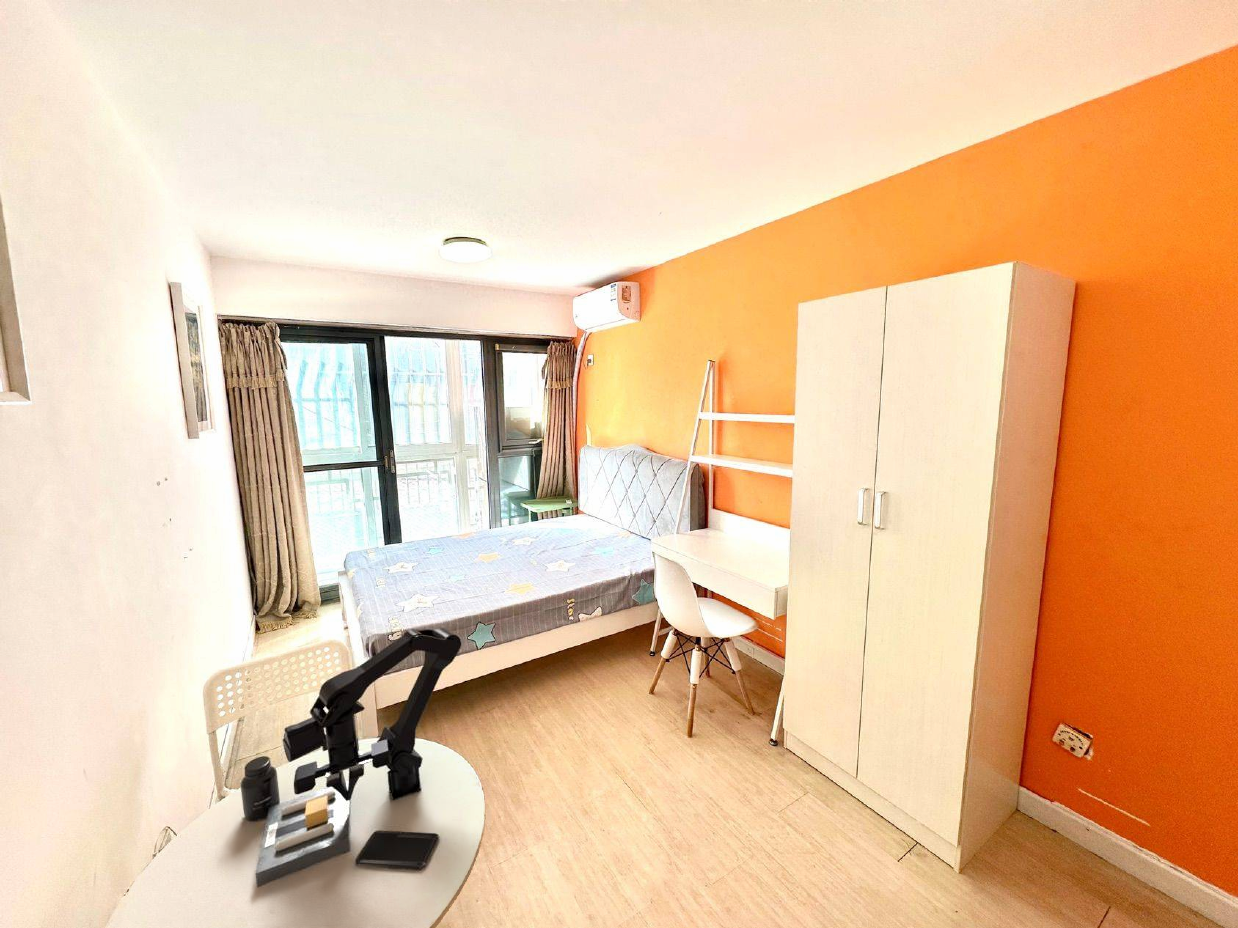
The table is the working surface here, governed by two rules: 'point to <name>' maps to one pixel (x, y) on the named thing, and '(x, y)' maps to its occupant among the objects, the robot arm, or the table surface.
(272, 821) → the panel
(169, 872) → the table surface
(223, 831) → the table surface
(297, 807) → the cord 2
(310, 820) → the block
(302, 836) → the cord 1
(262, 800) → the supplement bottle
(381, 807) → the table surface
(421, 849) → the phone
